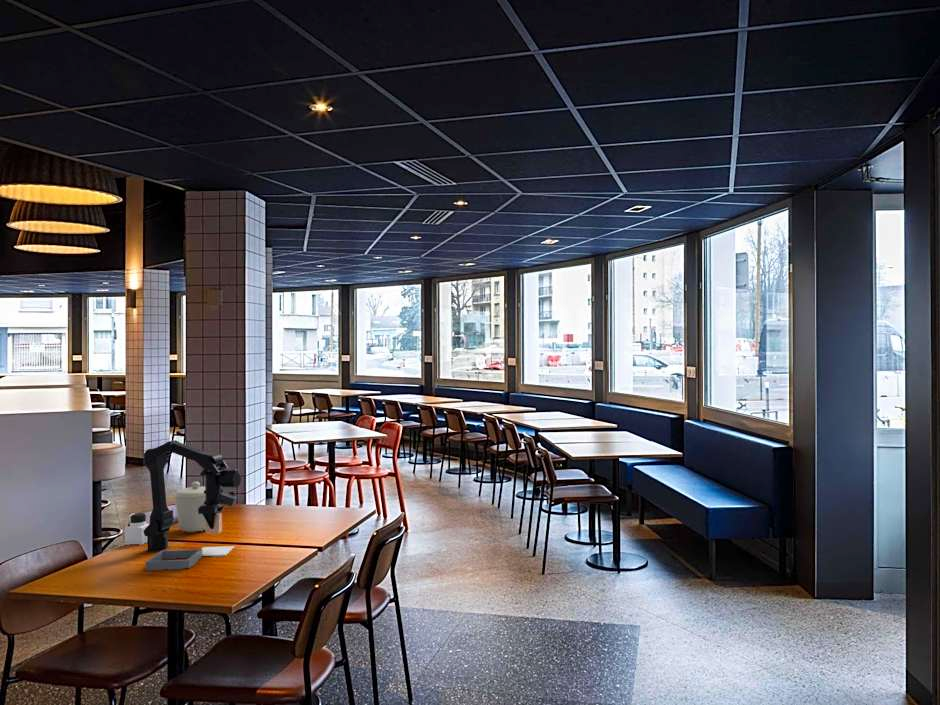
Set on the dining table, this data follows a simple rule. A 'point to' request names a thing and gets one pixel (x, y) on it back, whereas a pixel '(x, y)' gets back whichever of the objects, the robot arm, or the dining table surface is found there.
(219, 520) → the block
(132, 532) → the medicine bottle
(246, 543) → the dining table surface
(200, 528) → the canister
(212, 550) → the white flat square slab
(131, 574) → the dining table surface
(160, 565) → the grey tray
